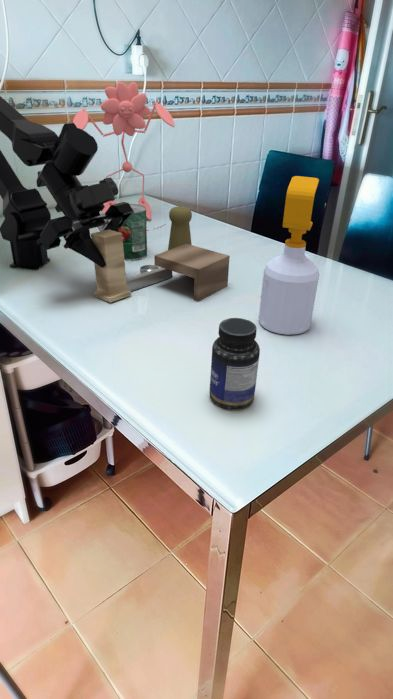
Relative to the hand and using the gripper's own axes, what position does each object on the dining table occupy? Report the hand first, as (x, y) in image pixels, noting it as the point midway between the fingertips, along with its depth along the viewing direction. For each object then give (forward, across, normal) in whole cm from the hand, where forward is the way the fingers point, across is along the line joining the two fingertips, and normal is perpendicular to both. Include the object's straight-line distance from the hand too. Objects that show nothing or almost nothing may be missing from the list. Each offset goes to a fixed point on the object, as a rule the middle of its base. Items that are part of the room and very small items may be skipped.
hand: (113, 263), depth 88 cm
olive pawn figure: (0, +27, +10) cm, 29 cm away
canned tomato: (-5, +19, +15) cm, 25 cm away
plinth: (+10, +14, 0) cm, 17 cm away
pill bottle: (+30, -12, -20) cm, 38 cm away
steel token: (+3, +12, +7) cm, 14 cm away
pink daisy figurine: (-18, +37, +28) cm, 50 cm away
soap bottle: (+26, +12, -16) cm, 33 cm away
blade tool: (+5, +6, +5) cm, 9 cm away
